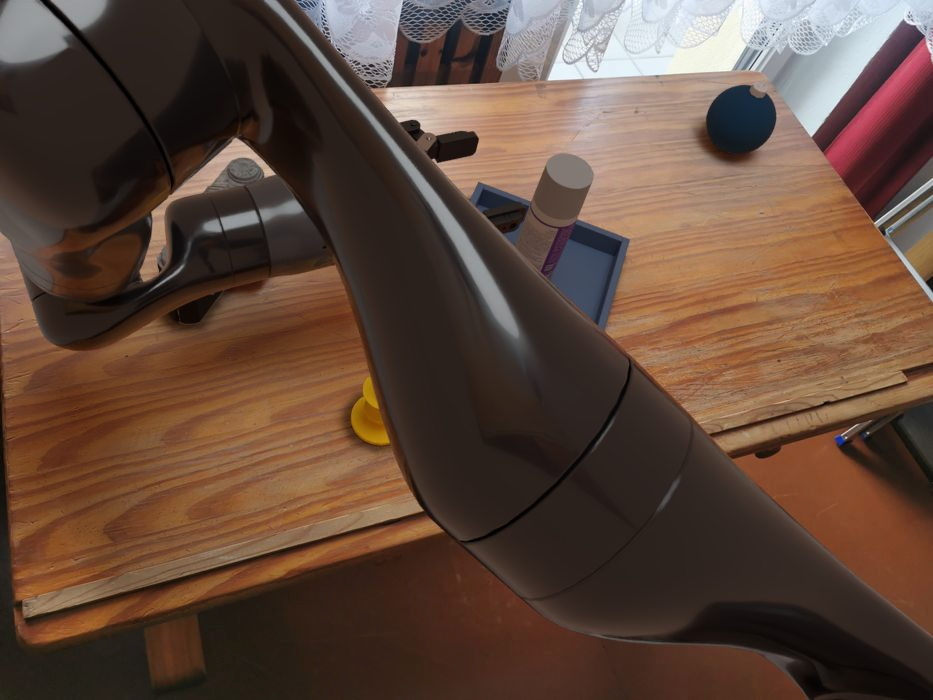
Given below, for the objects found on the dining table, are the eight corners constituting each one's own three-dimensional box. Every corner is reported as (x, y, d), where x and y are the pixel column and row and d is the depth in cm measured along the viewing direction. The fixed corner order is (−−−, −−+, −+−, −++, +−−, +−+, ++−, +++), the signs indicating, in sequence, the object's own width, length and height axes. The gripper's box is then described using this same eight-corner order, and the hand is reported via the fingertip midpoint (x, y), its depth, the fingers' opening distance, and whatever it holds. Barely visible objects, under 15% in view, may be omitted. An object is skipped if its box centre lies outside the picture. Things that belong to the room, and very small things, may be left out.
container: (542, 256, 84) (585, 151, 71) (554, 291, 81) (602, 188, 69) (501, 259, 82) (538, 152, 70) (512, 294, 80) (553, 190, 68)
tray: (619, 258, 87) (630, 238, 84) (588, 366, 78) (599, 348, 75) (472, 202, 87) (478, 181, 84) (425, 302, 78) (430, 282, 76)
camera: (225, 343, 71) (217, 276, 63) (159, 315, 72) (142, 244, 63) (299, 237, 80) (301, 165, 72) (240, 212, 80) (234, 138, 72)
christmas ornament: (742, 124, 105) (781, 61, 96) (765, 169, 100) (807, 107, 92) (686, 121, 103) (720, 57, 94) (706, 167, 98) (744, 103, 90)
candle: (338, 419, 69) (349, 319, 57) (378, 384, 72) (397, 281, 59) (381, 457, 68) (402, 363, 55) (420, 420, 71) (448, 322, 58)
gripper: (351, 255, 53) (551, 205, 59) (281, 118, 59) (468, 85, 65) (346, 319, 59) (527, 268, 65) (282, 189, 65) (454, 153, 71)
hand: (498, 176), depth 65 cm, fingers open, 8 cm apart
